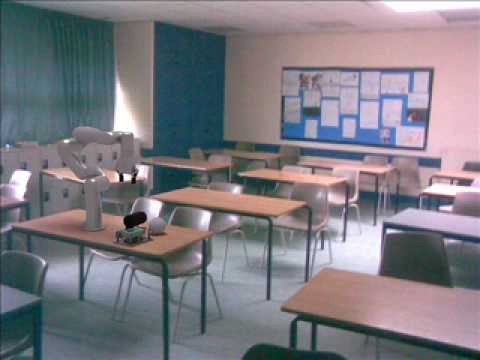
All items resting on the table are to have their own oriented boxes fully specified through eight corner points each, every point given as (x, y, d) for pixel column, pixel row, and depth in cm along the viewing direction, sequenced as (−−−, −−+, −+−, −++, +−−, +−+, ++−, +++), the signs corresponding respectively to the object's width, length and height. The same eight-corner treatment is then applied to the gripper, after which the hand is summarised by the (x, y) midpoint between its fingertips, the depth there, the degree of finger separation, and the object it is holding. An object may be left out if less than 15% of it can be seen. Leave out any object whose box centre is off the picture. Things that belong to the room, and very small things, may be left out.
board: (130, 238, 294) (130, 231, 293) (121, 235, 297) (121, 229, 297) (145, 233, 304) (145, 227, 303) (136, 231, 307) (136, 225, 307)
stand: (120, 238, 308) (120, 233, 307) (115, 237, 310) (115, 232, 309) (133, 234, 316) (133, 229, 316) (128, 233, 318) (128, 228, 318)
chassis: (130, 247, 290) (130, 234, 289) (113, 243, 297) (113, 230, 296) (153, 240, 305) (153, 228, 304) (136, 236, 312) (136, 224, 311)
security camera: (120, 232, 319) (120, 216, 318) (138, 226, 336) (138, 210, 334) (130, 234, 317) (130, 217, 315) (147, 227, 333) (147, 211, 332)
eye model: (169, 233, 321) (169, 216, 320) (159, 236, 312) (159, 220, 311) (155, 230, 326) (155, 214, 324) (145, 234, 317) (145, 217, 315)
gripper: (111, 153, 312) (112, 182, 315) (133, 155, 303) (133, 185, 306) (121, 152, 319) (121, 180, 321) (142, 154, 309) (143, 183, 312)
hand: (127, 182), depth 313 cm, fingers open, 9 cm apart
